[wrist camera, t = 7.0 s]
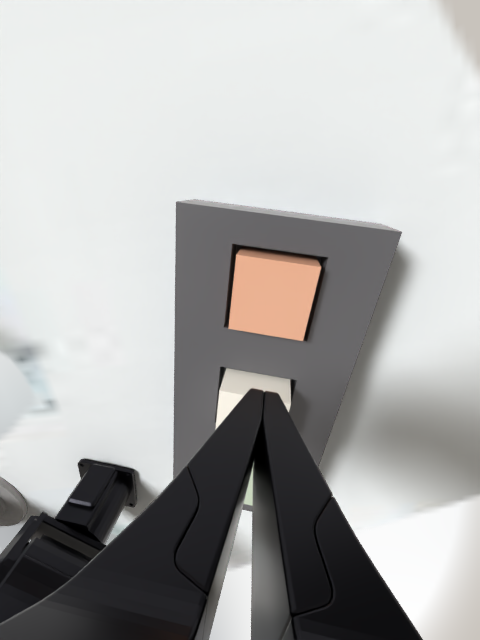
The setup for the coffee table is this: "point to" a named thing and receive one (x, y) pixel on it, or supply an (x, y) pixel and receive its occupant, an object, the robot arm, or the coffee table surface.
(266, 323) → the terracotta keycap
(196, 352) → the grey flat rectangular block
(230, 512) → the robot arm
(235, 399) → the ivory keycap
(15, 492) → the mate gourd
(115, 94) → the coffee table surface
